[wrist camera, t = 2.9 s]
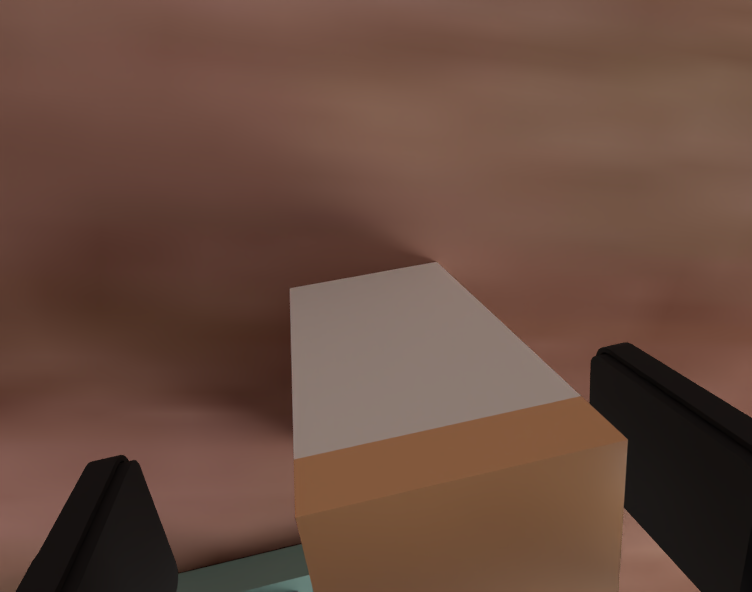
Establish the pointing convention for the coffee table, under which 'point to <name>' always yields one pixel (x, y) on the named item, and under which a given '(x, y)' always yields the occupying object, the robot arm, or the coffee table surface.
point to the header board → (252, 574)
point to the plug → (443, 447)
